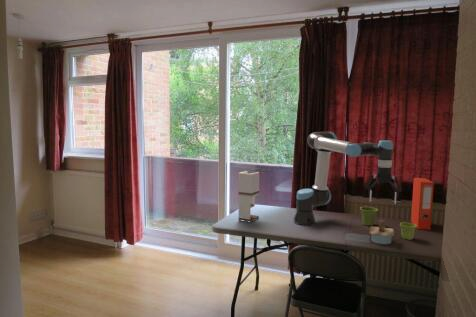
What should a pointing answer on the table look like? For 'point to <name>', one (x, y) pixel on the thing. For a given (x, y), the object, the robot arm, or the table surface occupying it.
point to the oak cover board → (387, 230)
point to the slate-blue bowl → (381, 239)
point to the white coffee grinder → (247, 194)
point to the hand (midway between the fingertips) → (382, 202)
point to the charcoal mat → (357, 237)
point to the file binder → (422, 203)
